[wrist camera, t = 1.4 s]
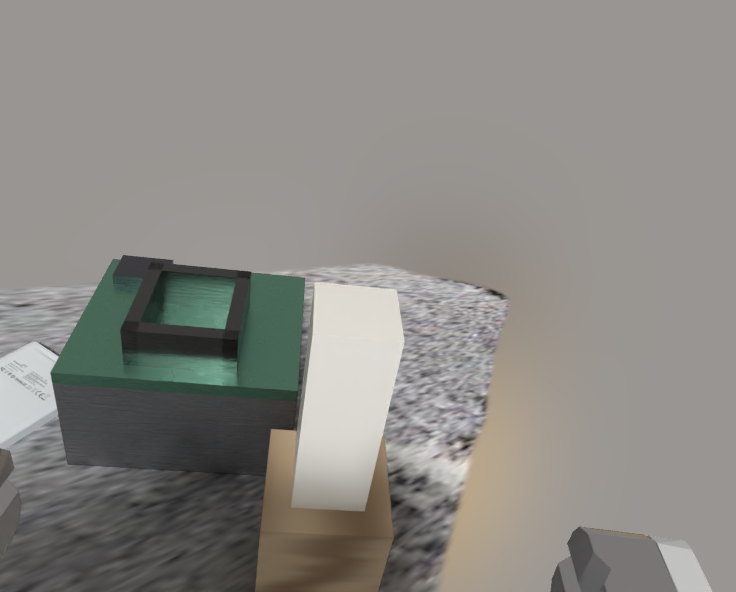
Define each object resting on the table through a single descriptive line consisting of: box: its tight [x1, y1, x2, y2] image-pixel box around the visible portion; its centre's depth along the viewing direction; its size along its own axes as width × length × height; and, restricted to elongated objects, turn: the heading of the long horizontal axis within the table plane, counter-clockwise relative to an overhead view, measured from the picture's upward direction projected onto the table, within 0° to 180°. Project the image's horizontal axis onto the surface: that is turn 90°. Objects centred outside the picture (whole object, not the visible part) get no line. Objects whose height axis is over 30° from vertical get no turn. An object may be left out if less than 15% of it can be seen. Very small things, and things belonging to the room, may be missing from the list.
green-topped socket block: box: [50, 255, 305, 476], centre depth 48 cm, size 16×14×12 cm
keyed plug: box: [291, 282, 404, 512], centre depth 32 cm, size 4×5×12 cm
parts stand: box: [255, 429, 394, 592], centre depth 38 cm, size 7×7×10 cm
